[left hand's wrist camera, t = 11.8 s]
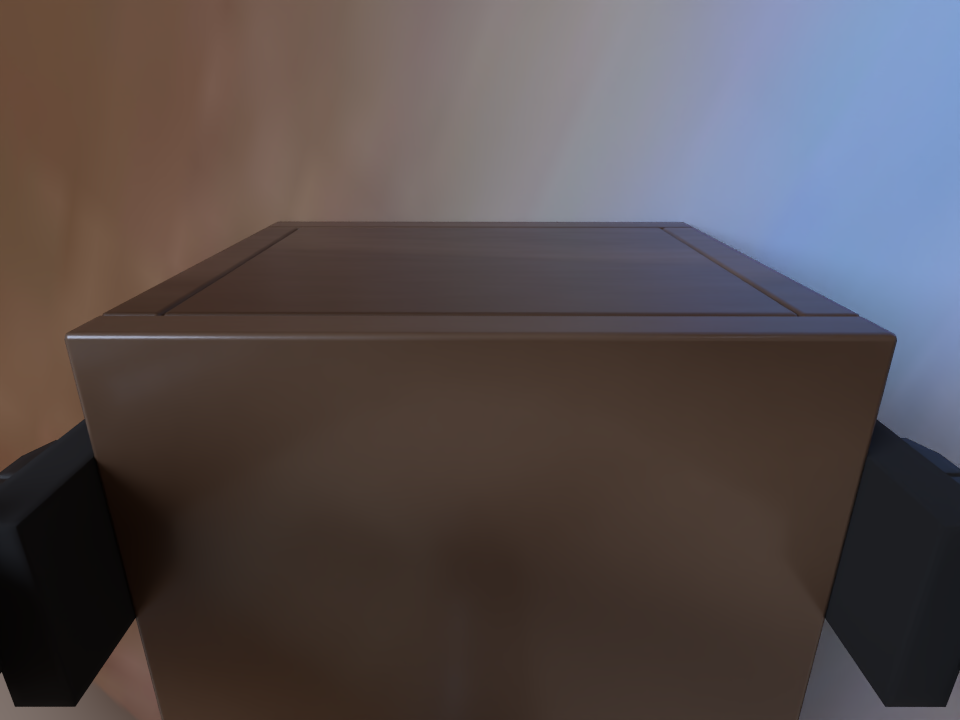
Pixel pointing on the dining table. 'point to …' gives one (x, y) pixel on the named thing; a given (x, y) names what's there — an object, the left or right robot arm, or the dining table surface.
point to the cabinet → (480, 472)
